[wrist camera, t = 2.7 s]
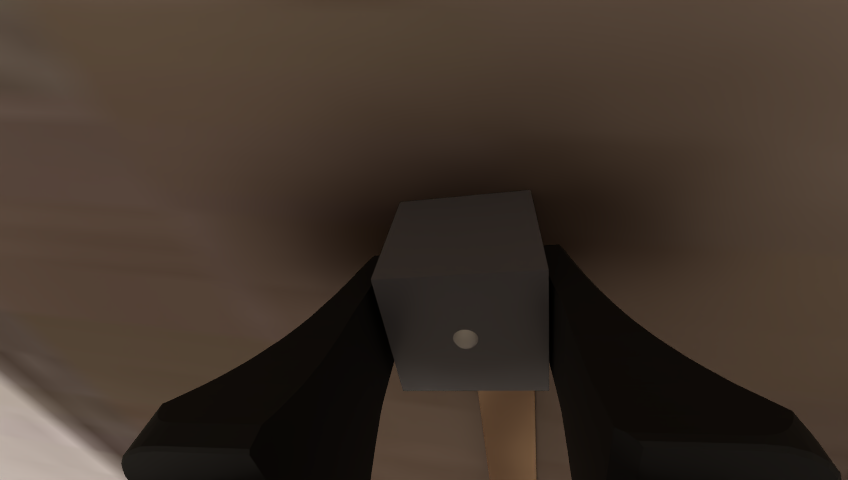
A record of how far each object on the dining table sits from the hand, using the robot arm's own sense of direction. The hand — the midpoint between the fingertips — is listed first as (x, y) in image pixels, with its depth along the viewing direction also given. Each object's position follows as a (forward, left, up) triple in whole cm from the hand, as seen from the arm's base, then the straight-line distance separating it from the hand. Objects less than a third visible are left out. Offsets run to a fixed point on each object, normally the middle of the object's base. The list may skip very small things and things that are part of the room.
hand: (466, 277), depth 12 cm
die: (0, 0, -2) cm, 2 cm away
